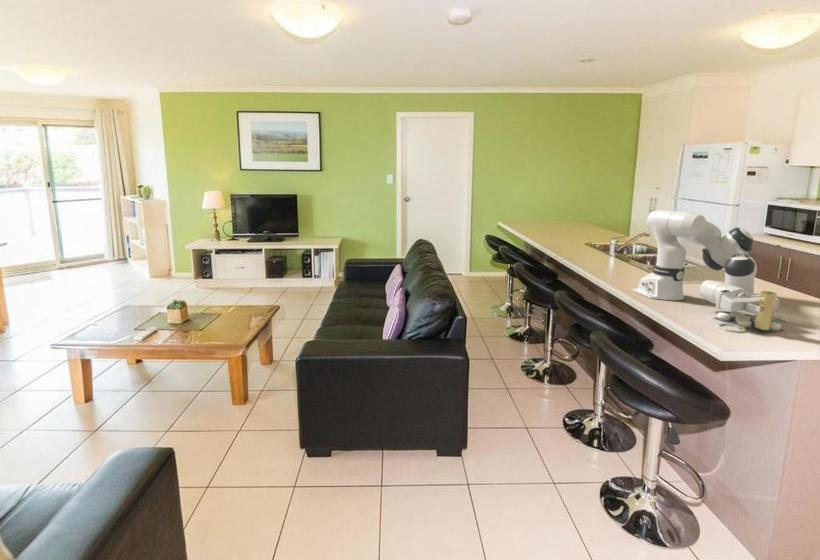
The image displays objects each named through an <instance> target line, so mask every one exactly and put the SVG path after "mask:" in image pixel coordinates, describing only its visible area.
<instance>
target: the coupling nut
mask: <svg viewBox="0 0 820 560" xmlns="http://www.w3.org/2000/svg"><path fill="white" fill-rule="evenodd" d="M759 295H760V300H759V306H762V307H763V311H762V312H757V315H756V323H755V327H756V328H758V329H763V330H769V329H771V324H772V319H773V316H774V312H775V311H774V308H775V302H776V298H777V295H778V293H777V292H774V291H769V290H762V291H760V294H759Z"/></svg>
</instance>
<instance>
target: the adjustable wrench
mask: <svg viewBox="0 0 820 560" xmlns="http://www.w3.org/2000/svg"><path fill="white" fill-rule="evenodd" d="M745 312H747V313H750V314H752V313H753V314H752V315H755V316H757V311H753V310H746V311H745ZM772 322H776V323H779V324H782V322H784V323H787V320H786V319H784V318H782V317H777V316H774V315H773V319H772Z"/></svg>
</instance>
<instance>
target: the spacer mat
mask: <svg viewBox="0 0 820 560" xmlns="http://www.w3.org/2000/svg"><path fill="white" fill-rule="evenodd" d="M712 319H714V320H716V321H720V322H721V323H732V324H737V325H740V326H743V327H745V329H746V331H751V332H754V333H757V334H760V335H768V334H775V333H782V332H787V330H786V329H782V323H776V322H772V324H771V329H769V330H763V329H758V328H756V327H755V323H756V318H753V320H752V319H751V317H749V316H746V315H745V313H744V312H743V311H730V313H727V312H717V316H716V317H712Z"/></svg>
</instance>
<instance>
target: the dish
mask: <svg viewBox="0 0 820 560" xmlns="http://www.w3.org/2000/svg"><path fill="white" fill-rule="evenodd" d="M715 326H716V328H717V329H718V330H720V331H721V330H722V331H725V332H728V333H735V334H736V333H737V334H739V333H746V331H747V329H745V327H743V326H740V325H737V324H732V323H725V322H719V323H716V325H715ZM722 326H728V327H735V328H738V329H731V328H729V329H728V328H725V327H722Z"/></svg>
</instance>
